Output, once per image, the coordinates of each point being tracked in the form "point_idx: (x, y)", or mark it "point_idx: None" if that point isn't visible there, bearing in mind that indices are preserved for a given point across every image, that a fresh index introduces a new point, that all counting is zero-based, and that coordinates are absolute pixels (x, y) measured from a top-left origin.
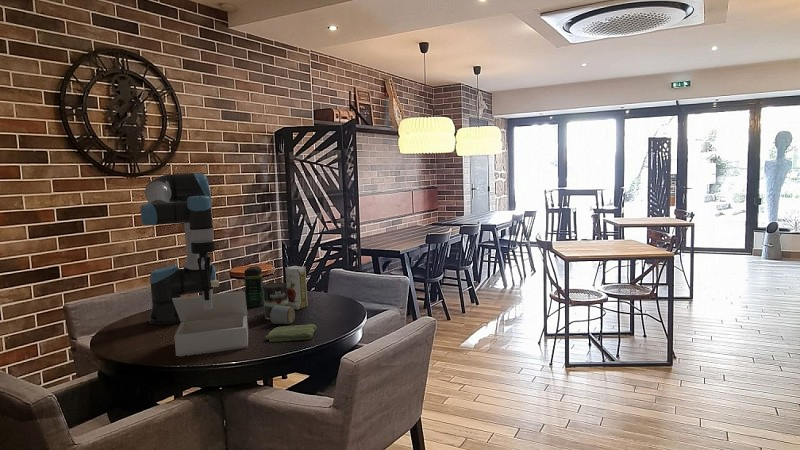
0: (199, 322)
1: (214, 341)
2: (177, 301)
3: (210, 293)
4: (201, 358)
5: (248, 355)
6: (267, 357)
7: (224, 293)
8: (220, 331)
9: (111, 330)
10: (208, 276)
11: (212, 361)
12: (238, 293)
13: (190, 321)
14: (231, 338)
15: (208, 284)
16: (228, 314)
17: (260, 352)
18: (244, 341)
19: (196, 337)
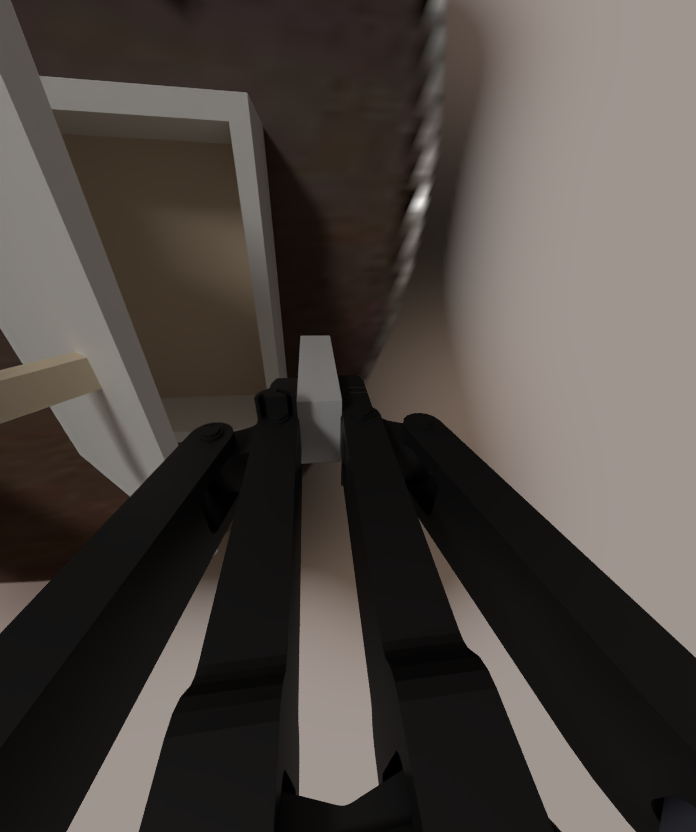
0: None
1: (274, 292)
2: None
3: (339, 387)
4: (330, 326)
5: (370, 128)
6: (442, 8)
7: (83, 251)
8: (267, 268)
9: (20, 574)
10: (424, 539)
11: (375, 287)
12: (15, 20)
13: None
14: (265, 210)
15: (471, 454)
16: None
17: (353, 48)
18: (261, 136)
19: (279, 365)
